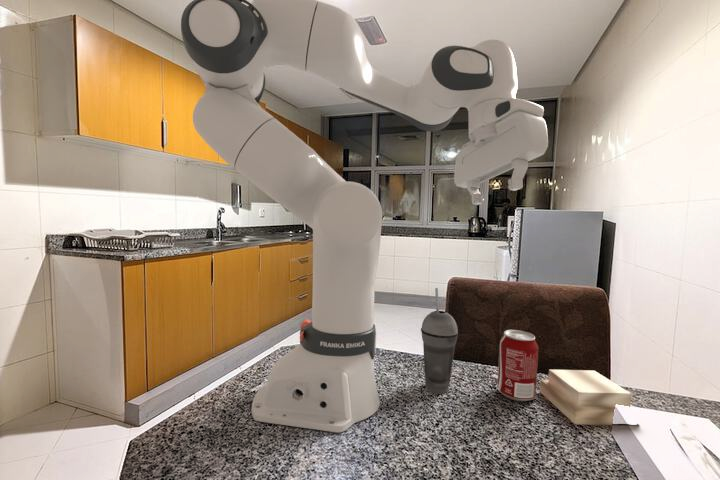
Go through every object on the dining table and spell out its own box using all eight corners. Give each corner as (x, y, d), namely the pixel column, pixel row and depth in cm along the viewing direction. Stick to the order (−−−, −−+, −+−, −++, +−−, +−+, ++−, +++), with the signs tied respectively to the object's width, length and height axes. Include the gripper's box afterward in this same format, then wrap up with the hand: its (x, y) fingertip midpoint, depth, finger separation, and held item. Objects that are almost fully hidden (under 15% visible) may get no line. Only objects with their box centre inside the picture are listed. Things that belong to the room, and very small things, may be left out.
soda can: (540, 406, 63) (544, 342, 62) (500, 401, 64) (504, 338, 64) (529, 389, 70) (533, 330, 69) (494, 384, 71) (497, 327, 70)
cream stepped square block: (574, 424, 58) (576, 395, 57) (539, 391, 69) (541, 367, 68) (639, 425, 58) (641, 396, 58) (594, 392, 69) (595, 368, 69)
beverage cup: (438, 401, 64) (443, 294, 63) (410, 385, 70) (414, 287, 69) (463, 390, 68) (468, 290, 67) (435, 376, 74) (439, 284, 73)
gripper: (446, 145, 73) (446, 208, 71) (522, 92, 54) (526, 175, 52) (470, 151, 75) (472, 212, 73) (552, 102, 57) (557, 182, 54)
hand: (495, 197), depth 62 cm, fingers open, 8 cm apart
